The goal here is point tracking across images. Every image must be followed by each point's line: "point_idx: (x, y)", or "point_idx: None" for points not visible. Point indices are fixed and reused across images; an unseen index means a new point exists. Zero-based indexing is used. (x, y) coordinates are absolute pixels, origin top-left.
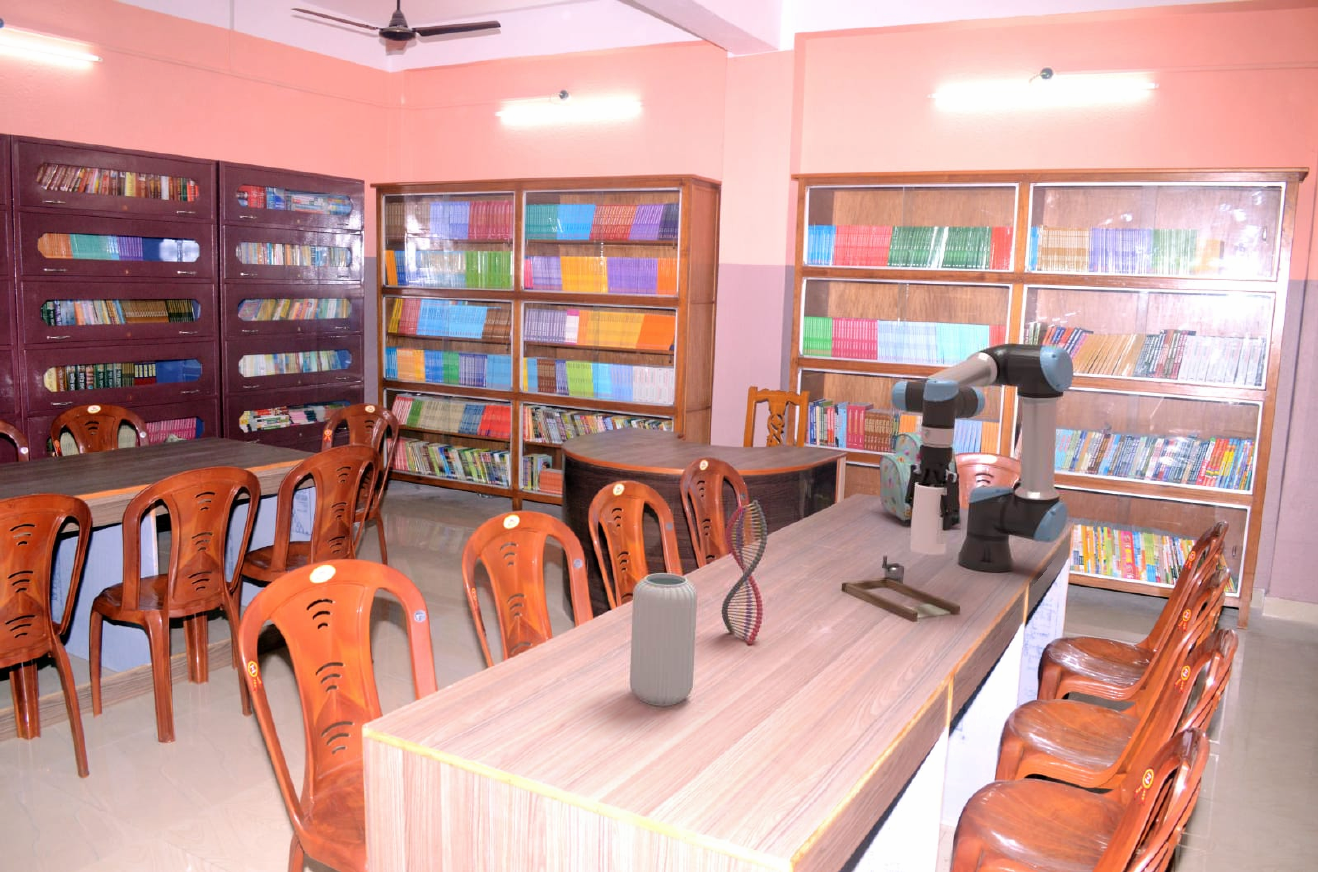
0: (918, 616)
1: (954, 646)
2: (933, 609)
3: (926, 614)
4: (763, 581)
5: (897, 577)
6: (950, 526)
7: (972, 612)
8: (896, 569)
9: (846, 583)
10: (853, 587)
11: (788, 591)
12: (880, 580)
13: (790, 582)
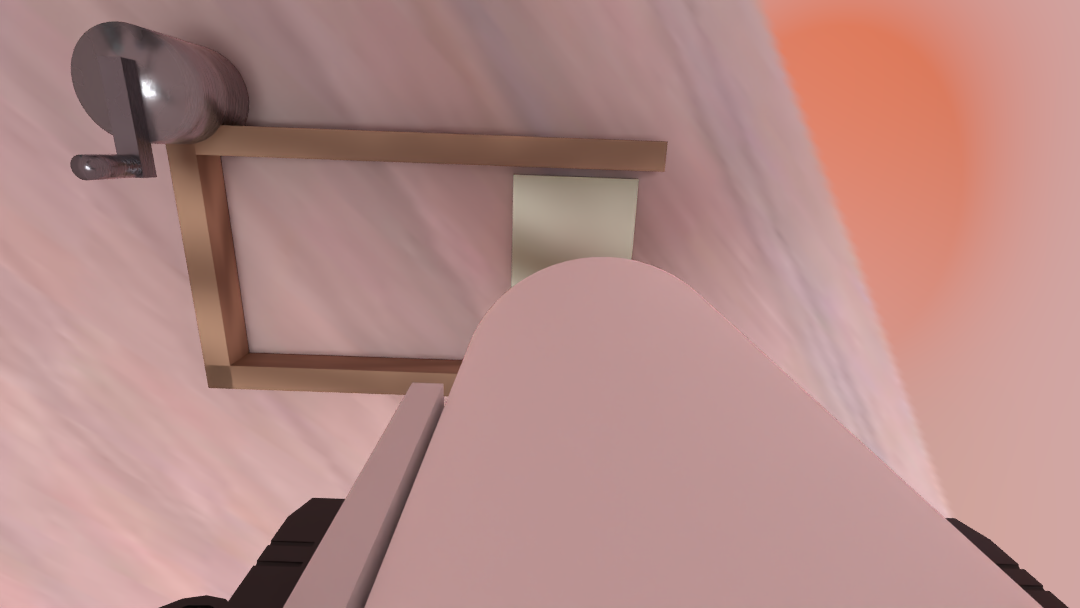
0: None
1: (878, 440)
2: (580, 221)
3: None
4: (65, 550)
5: (214, 111)
6: (1014, 568)
7: (671, 61)
8: (183, 117)
9: (220, 376)
10: (280, 387)
11: (198, 544)
12: (204, 193)
13: (91, 477)
